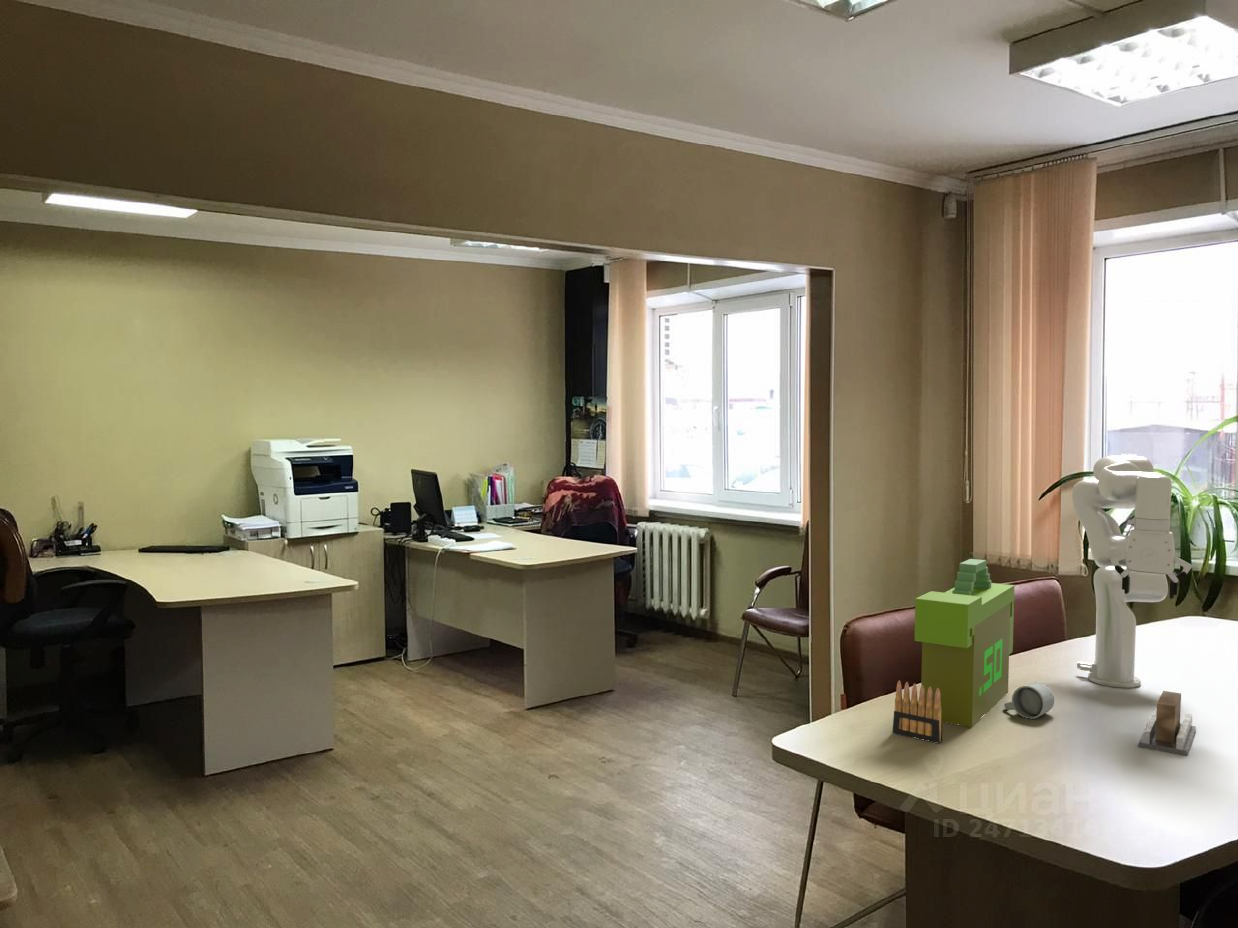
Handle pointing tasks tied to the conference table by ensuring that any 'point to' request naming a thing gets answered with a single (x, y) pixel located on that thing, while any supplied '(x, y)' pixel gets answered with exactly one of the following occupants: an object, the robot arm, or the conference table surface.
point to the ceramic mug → (1031, 700)
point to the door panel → (1168, 716)
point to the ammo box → (966, 643)
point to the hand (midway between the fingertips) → (1149, 595)
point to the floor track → (1177, 747)
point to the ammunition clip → (918, 714)
